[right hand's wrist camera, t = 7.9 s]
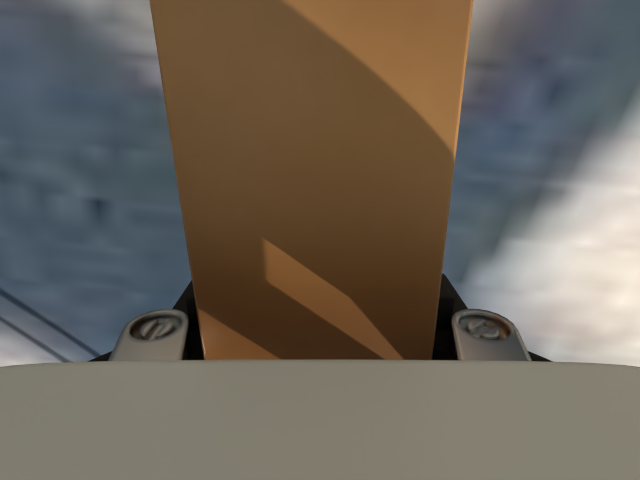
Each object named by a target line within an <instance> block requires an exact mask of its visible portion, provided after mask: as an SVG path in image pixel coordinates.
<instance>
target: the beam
mask: <svg viewBox="0 0 640 480" xmlns="http://www.w3.org/2000/svg"><path fill="white" fill-rule="evenodd" d="M150 6H151V13H152V19H153V26H154V32H155V39H156V46H157V52H158V59H159V65H160V72H161V79H162V85H163V92H164V98H165V105H166V112H167V118H168V125H169V131H170V138H171V145H172V151H173V158H174V164H175V171H176V178H177V184H178V191H179V197H180V204H181V210H182V217H183V224H184V230H185V237H186V243H187V250H188V257H189V263H190V270H191V276H192V283H193V290H194V296H195V303H196V309H197V316H198V323H199V329H200V336H201V342H202V349H203V356H204V360H432V355H433V347H434V338H435V329H436V321H437V312H438V303H439V294H440V286H441V277H442V268H443V260H444V251H445V242H446V233H447V225H448V216H449V207H450V199H451V190H452V181H453V172H454V164H455V155H456V146H457V137H458V129H459V120H460V111H461V103H462V94H463V85H464V76H465V68H466V59H467V50H468V42H469V33H470V24H471V15H472V7H473V0H150Z"/></svg>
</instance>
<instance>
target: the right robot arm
mask: <svg viewBox="0 0 640 480" xmlns="http://www.w3.org/2000/svg"><path fill="white" fill-rule="evenodd" d="M0 480H640V367H635V366H626V365H613V364H597V363H576V362H553V361H550V360H548V359H546V358H543V357H541V356H538V355H536V354H534V353H531V352H529V351H527V349H526V347H525V345H524V342H523V340H522V338H521V336H520V334H519V331H518V329H517V328H516V327H515V325H514V324H513V323H512V322H511V321H509V320H508V319H507V318H505V317H503V316H501V315H499V314H497V313H493V312H490V311H487V310H481V309H468V308H467V307H466V305H465V304H464V302H463V301H462V299H461V298H460V296H459V295H458V293H457V292H456V290H455V289H454V288H453V286H452V285H451V283H450V282H449V280H448V279H447V277H446V276H445V275H444V274H442V277H441V286H440V294H439V303H438V312H437V321H436V329H435V338H434V347H433V355H432V360H204V356H203V349H202V342H201V336H200V329H199V323H198V316H197V309H196V303H195V296H194V290H193V283H192V281H191V282H190V284H189V285H188V287H187V288H186V290H185V291H184V292H183V294H182V295H181V297H180V298H179V300H178V301H177V303H176V304H175V306H174V307H173V309H159V310H153V311H150V312H147V313H143V314H141V315H139V316H137V317H135V318H133V319H132V320H131V321H129V322H128V323H127V324H126V325H125V327H124V328H123V329H122V331H121V334H120V336H119V338H118V340H117V342H116V345H115V347H114V349H113V351H111V352H109V353H107V354H104V355H102V356H99V357H97V358H95V359H92V360H90V361H88V362H66V363H42V364H27V365H13V366H5V367H0Z"/></svg>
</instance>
